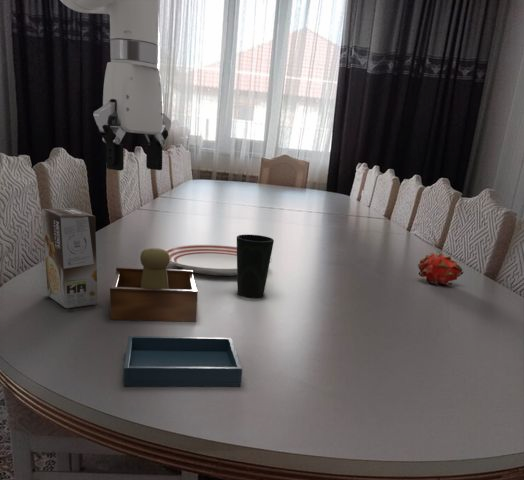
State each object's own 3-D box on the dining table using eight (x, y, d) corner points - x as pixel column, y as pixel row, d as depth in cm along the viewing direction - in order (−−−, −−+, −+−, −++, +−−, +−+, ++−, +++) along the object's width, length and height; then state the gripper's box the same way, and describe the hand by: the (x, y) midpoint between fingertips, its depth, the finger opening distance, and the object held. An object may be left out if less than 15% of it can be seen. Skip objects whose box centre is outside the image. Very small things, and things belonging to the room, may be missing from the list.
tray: (123, 386, 66) (123, 367, 66) (128, 352, 77) (128, 335, 76) (240, 386, 70) (242, 368, 69) (230, 353, 80) (231, 337, 79)
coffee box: (99, 304, 95) (97, 215, 89) (65, 309, 91) (60, 216, 85) (78, 291, 101) (75, 207, 95) (45, 295, 97) (39, 207, 91)
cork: (134, 303, 98) (134, 245, 94) (165, 301, 101) (166, 245, 96) (142, 313, 93) (143, 253, 89) (175, 311, 96) (177, 252, 91)
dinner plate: (152, 276, 117) (152, 261, 116) (168, 251, 142) (169, 239, 141) (273, 285, 119) (274, 271, 117) (268, 259, 144) (269, 247, 143)
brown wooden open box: (110, 319, 89) (109, 288, 86) (116, 294, 102) (116, 266, 100) (196, 322, 91) (197, 291, 89) (191, 297, 105) (192, 270, 103)
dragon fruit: (409, 284, 139) (453, 296, 138) (420, 272, 130) (466, 285, 130) (415, 256, 141) (458, 268, 140) (426, 242, 132) (472, 255, 132)
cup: (229, 296, 108) (233, 238, 103) (236, 287, 115) (240, 233, 110) (265, 301, 107) (271, 243, 102) (270, 292, 114) (275, 237, 109)
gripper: (152, 65, 92) (152, 167, 98) (75, 46, 77) (80, 167, 84) (186, 66, 88) (183, 171, 95) (113, 47, 74) (115, 172, 81)
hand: (135, 169), depth 89 cm, fingers open, 9 cm apart
